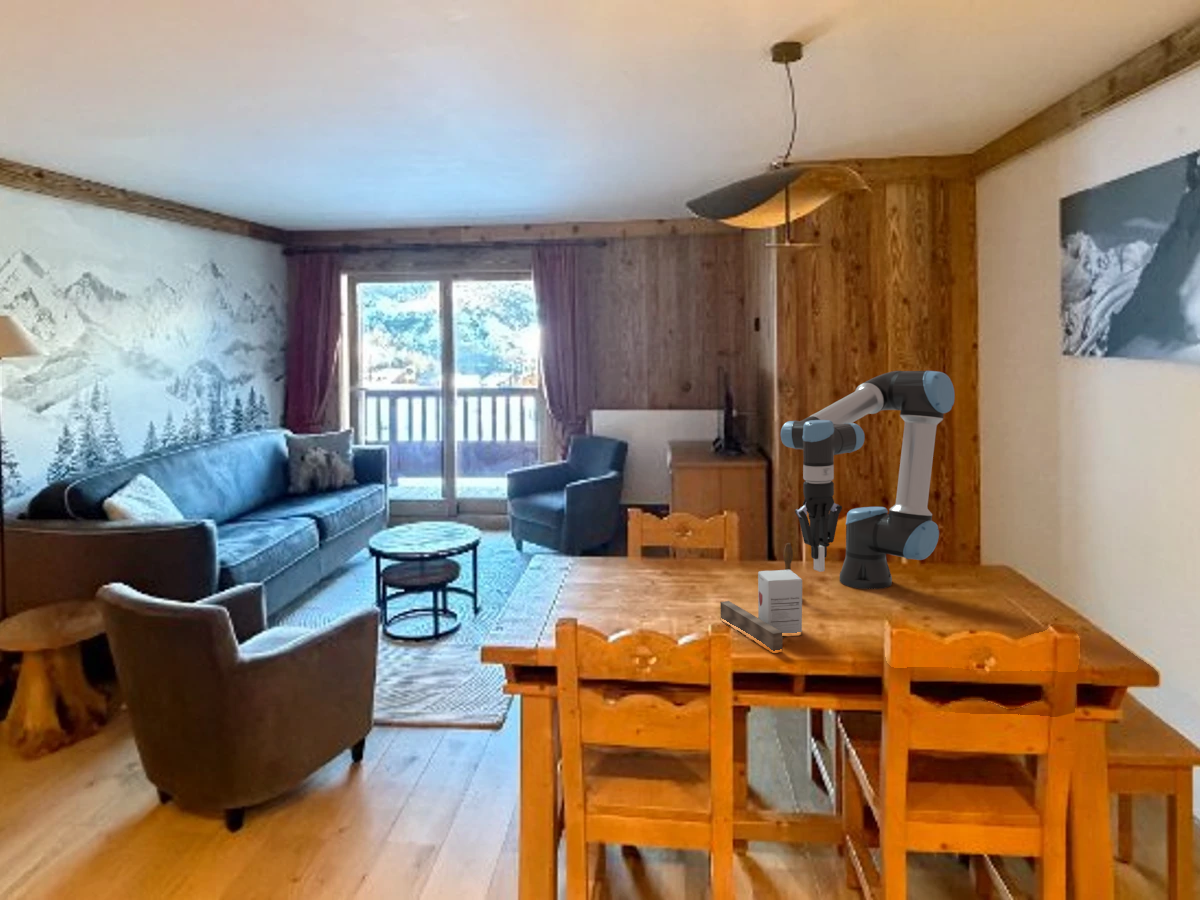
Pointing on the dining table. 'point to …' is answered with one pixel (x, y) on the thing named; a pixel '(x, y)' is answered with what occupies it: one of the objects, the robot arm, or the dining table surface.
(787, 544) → the hand bell
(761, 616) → the supplement box
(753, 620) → the board
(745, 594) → the dining table surface
